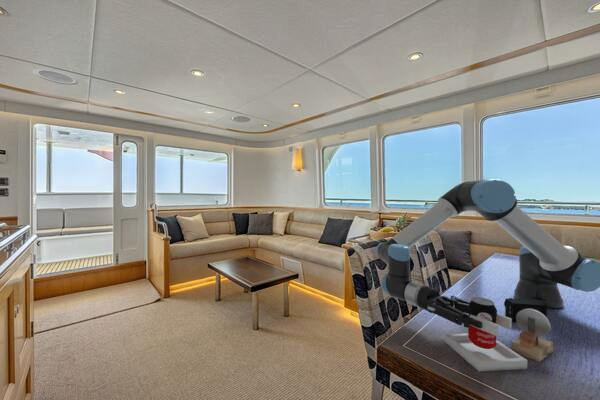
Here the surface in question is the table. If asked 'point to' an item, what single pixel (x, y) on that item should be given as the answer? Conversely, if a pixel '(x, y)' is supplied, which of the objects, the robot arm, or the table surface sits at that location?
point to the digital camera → (522, 307)
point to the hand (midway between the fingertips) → (504, 327)
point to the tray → (485, 354)
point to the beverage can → (485, 311)
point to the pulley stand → (532, 335)
